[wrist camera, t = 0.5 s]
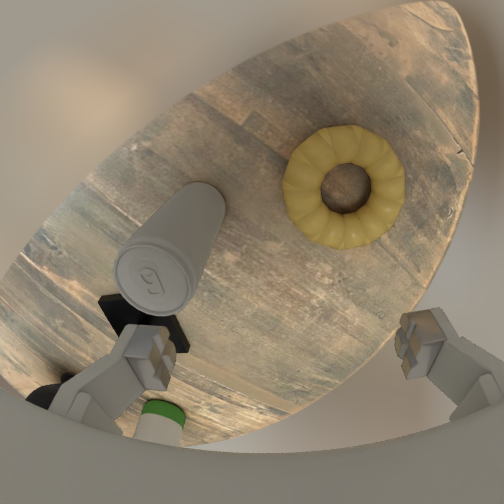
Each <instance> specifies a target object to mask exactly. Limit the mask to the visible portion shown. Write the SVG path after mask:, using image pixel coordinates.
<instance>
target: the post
mask: <svg viewBox="0 0 504 504" xmlns="http://www.w3.org/2000/svg"><path fill="white" fill-rule="evenodd" d="M98 304H99V305H100V307H101V309H102V311H103V312H104V314H105V316H106V317H107V319H108V321H109V322H110V324H111V326H112V327H113V329H114V331H115V332H116V334H117V335H118V337H120V335H121V333H122V331H123V329H124V328H125V326H126V325H128V324H135V325H153V326H165V327H167V329H168V331H169V333H170V335H169V338H168V339H169V340H170V341H172V342H173V343H174V346H175V349H176V353H188V351H189V348H190V345H189V343H188V341H187V339H186V337H185V335H184V333H183V331H182V329H181V327H180V325H179V323H178V321H177V319H176V317H175V315H169V316H155V315H150V314H147V313H145V312H142V311H140V310H138V309H137V308H135V307H134V306H132V305H131V304H130V303H129V302H128V301H127V300H126V299H125V298H124V297H123V296H122V295H121V294H117V295H108V296H102V297H101V298H100V299H99V301H98Z"/></svg>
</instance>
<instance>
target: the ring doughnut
mask: <svg viewBox="0 0 504 504" xmlns="http://www.w3.org/2000/svg"><path fill="white" fill-rule="evenodd" d="M345 163H353V164H356V165H358V166H360V167H362V168H364V170H365V171H366V173H367V174H368V175H369V177H370V180H371V193H370V196H369V198H368V200H367V202H366V204H365V205H364V206H362V207H361V208H360V209H358V210H357V211H356V212H354V213H347V214H339V213H336V212H334V211H331V210H329V209H328V207H327V206H326V205H325V204H324V202H323V201H322V197H321V190H320V186H321V184H322V182H323V179H324V177H325V174H326V173H327V172H329V171H330V170H331V169H332V168H334V167H335V166H336V165H338V164H345ZM282 191H283V196H284V201H285V206H286V211H287V215H288V217H289V218H290V220H291V221H292V222H293V223H294V224H295V225H296V226H297V228H298V229H299V230H300V231H301V232H302V233H303V234H304V236H305V237H306V238H307V239H309V240H310V241H312V242H314V243H317V244H320V245H323V246H326V247H329V248H332V249H335V250H345V249H351V248H357V247H363V246H367V245H369V244H371V243H372V242H374V241H375V240H376V239H378V238H379V237H380V236H382V235H383V234H384V233H386V232H387V231H388V230H389V229H391V228H392V226H393V225H394V223H395V221H396V219H397V217H398V215H399V213H400V211H401V209H402V206H403V204H404V202H405V173H404V168H403V165H402V163H401V162H400V160H399V159H398V157H397V155H396V154H395V152H394V151H393V149H392V148H391V146H390V144H389V143H388V142H387V141H386V140H385V139H384V138H382V137H380V136H378V135H376V134H374V133H372V132H370V131H368V130H366V129H364V128H362V127H360V126H357V125H343V126H335V127H327V128H322V129H319V130H318V131H316V132H315V133H314V134H312V135H311V136H310V137H309V138H307V139H306V140H305V141H304V142H302V143H301V144H300V145H299V146H297V147H296V148H295V149H294V151H293V152H292V154H291V157H290V159H289V162H288V165H287V168H286V170H285V173H284V176H283V179H282Z"/></svg>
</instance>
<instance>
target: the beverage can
mask: <svg viewBox="0 0 504 504" xmlns="http://www.w3.org/2000/svg"><path fill="white" fill-rule="evenodd" d="M225 211H226V209H225V202H224V199H223V196H222V195H221V194H220V193H219V191H218V190H217V189H215V188H214V187H213V186H211V185H209V184H206V183H201V182H194V183H190V184H187V185H185V186H183V187H182V188H181V189H180V190H178V191H177V192H176V193H175V194H174V195H173V196H172V197H171V198H170V199H169V200H168V201H167V202H166V203H165V204H164V205H162V206H161V207H160V208H159V209H158V210H157V211H156V212H155V213H154V214H153V215H152V216H151V217H150V218H149V219H148V220H147V221H146V222H145V223H144V224H143V225H142V226H141V227H140V228H139V229H138V230H137V231H136V232H135V233H134V234H133V235H132V236H131V237H130V238H129V239H128V241H127V242H126V243H125V244H124V245H123V246H122V248H121V250H120V251H119V253H118V256H117V257H116V259H115V261H114V266H113V276H114V281H115V284H116V286H117V289H118V290H119V292H120V293H121V295H122V296H123V297H124V298H125V299H126V300H127V301H128V302H129V303H130V304H131V305H132V306H134V307H135V308H137V309H138V310H140V311H142V312H145V313H147V314H150V315H155V316H169V315H174V314H176V313H178V312H180V311H181V310H183V308H184V307H185V306H186V305H187V304H188V302H189V301H190V300H191V298H192V297H193V295H194V293H195V291H196V288H197V286H198V283H199V281H200V278H201V276H202V273H203V271H204V268H205V265H206V263H207V260H208V258H209V255H210V253H211V250H212V248H213V245H214V242H215V240H216V237H217V234H218V231H219V229H220V226H221V224H222V221H223V219H224V216H225Z"/></svg>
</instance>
